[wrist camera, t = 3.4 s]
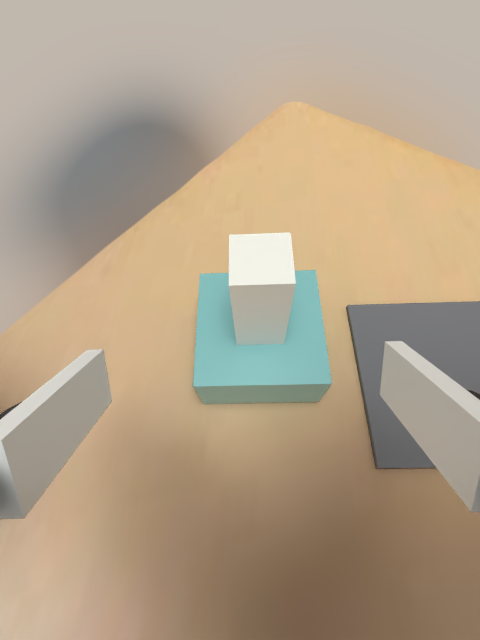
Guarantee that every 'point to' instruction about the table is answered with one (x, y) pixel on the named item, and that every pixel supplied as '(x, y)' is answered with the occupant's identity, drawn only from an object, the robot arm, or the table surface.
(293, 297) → the cover
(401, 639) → the table surface
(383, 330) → the mat
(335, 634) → the table surface
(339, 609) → the table surface
